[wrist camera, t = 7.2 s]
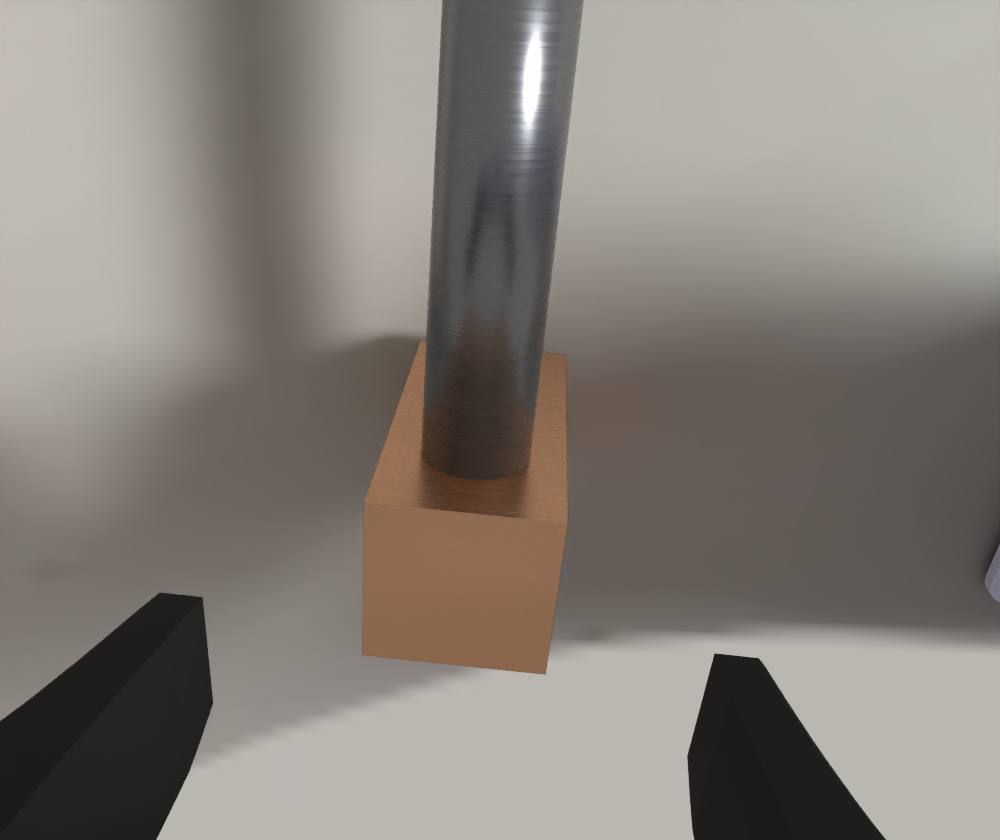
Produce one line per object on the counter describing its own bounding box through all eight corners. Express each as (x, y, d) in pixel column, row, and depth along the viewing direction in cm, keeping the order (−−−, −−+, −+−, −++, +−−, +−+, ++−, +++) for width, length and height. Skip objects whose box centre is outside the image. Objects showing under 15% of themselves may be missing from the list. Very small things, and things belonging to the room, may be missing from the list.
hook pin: (550, 478, 20) (546, 674, 14) (415, 464, 20) (362, 655, 14) (643, -244, 14) (696, -362, 8) (447, -262, 14) (375, -392, 8)
